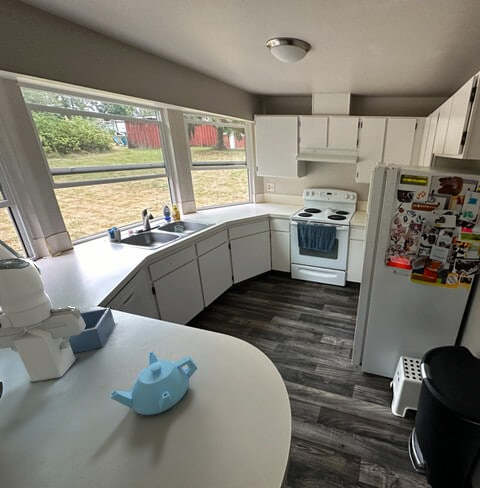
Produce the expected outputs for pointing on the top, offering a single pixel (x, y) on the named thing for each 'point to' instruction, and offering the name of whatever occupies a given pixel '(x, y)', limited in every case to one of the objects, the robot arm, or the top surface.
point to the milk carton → (43, 354)
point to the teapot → (157, 386)
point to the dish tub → (93, 330)
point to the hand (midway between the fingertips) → (46, 351)
